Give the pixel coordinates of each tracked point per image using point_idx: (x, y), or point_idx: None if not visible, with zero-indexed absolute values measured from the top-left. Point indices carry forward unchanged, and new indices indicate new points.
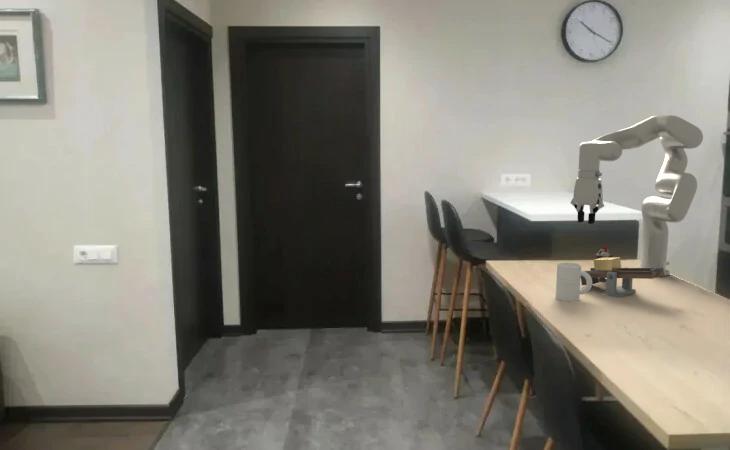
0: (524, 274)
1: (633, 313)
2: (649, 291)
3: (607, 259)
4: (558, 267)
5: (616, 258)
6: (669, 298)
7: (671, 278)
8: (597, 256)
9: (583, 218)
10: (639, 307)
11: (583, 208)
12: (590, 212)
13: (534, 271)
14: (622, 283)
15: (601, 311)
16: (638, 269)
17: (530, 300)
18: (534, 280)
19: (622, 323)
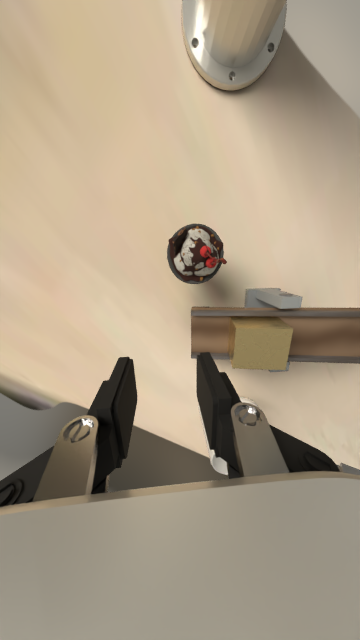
0: (53, 348)
1: (315, 391)
2: (295, 259)
3: (272, 365)
4: (221, 469)
5: (289, 346)
6: (338, 277)
7: (298, 61)
8: (190, 283)
9: (129, 375)
10: (312, 362)
11: (94, 444)
12: (229, 461)
13: (39, 310)
14: (260, 299)
15: (279, 414)
16: (324, 315)
17: (188, 446)
18: (105, 367)
19: (316, 429)
